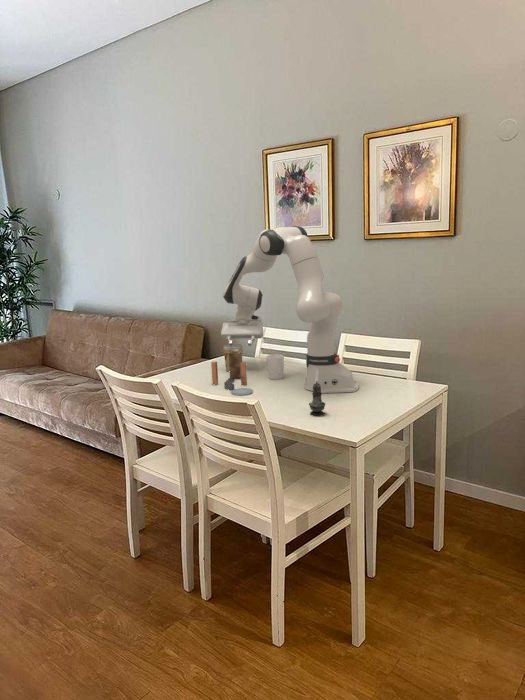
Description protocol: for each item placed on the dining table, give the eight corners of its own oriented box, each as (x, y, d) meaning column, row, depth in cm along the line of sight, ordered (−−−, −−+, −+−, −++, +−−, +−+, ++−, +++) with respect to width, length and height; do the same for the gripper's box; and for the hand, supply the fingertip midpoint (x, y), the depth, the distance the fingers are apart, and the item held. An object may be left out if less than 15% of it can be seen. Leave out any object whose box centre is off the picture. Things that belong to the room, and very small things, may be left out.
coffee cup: (225, 367, 258) (224, 344, 256) (244, 367, 258) (243, 343, 255) (223, 372, 249) (222, 348, 247) (243, 372, 249) (241, 347, 246)
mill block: (242, 376, 240) (241, 348, 238) (240, 379, 236) (238, 350, 233) (232, 376, 241) (231, 348, 239) (230, 379, 237) (228, 350, 234)
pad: (255, 389, 218) (255, 388, 218) (250, 396, 209) (250, 394, 209) (234, 389, 220) (234, 387, 220) (228, 395, 211) (228, 394, 211)
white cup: (282, 380, 232) (282, 358, 230) (265, 379, 233) (264, 358, 231) (285, 375, 239) (285, 354, 237) (268, 375, 241) (268, 354, 239)
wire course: (249, 381, 232) (248, 359, 230) (241, 390, 217) (240, 367, 215) (217, 380, 235) (215, 359, 233) (206, 390, 220) (205, 367, 218)
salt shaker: (306, 414, 184) (305, 382, 182) (313, 410, 189) (313, 378, 187) (320, 417, 181) (320, 384, 179) (328, 412, 186) (328, 379, 184)
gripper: (221, 317, 251) (217, 341, 244) (263, 316, 247) (259, 341, 239) (225, 324, 256) (220, 348, 249) (265, 324, 252) (262, 348, 245)
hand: (240, 344), depth 244 cm, fingers open, 8 cm apart
